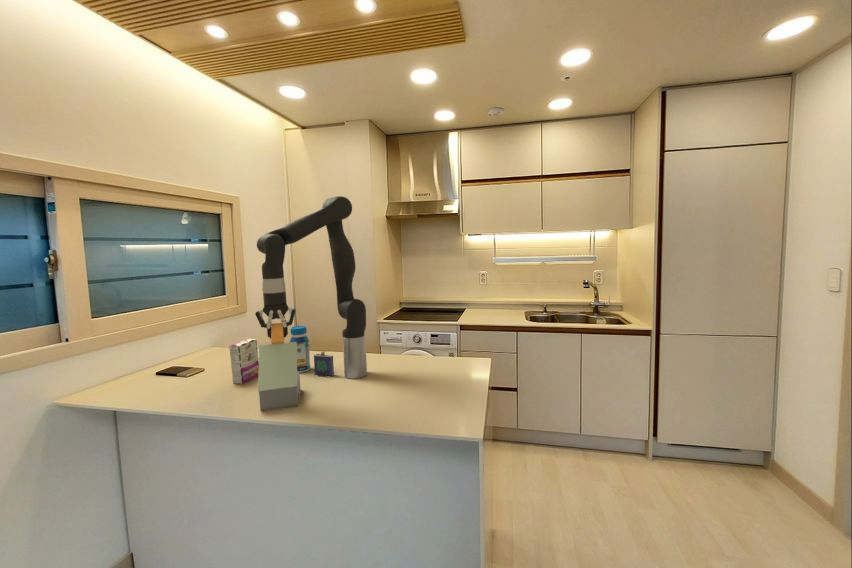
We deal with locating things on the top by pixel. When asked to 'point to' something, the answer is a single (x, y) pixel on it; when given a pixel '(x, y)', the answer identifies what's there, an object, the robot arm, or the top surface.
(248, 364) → the candy bar box
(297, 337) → the beverage bottle
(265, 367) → the lid
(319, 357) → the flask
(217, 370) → the top surface
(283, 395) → the tub
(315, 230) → the robot arm
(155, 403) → the top surface
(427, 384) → the top surface
